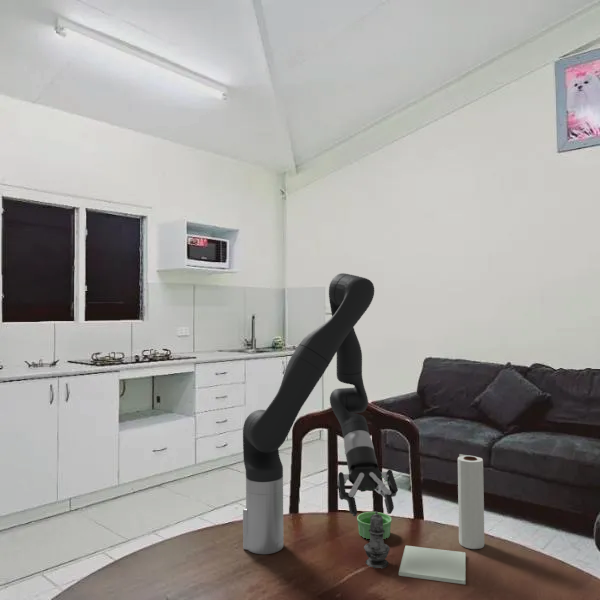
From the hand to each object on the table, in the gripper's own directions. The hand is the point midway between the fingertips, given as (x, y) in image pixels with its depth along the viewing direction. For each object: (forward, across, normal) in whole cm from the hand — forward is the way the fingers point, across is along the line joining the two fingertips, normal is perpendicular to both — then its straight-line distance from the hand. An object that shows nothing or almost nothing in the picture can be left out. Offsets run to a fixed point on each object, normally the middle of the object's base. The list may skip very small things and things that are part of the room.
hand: (372, 513), depth 128 cm
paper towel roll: (+5, +26, +9) cm, 28 cm away
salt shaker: (+10, 0, +5) cm, 11 cm away
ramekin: (-1, +4, +16) cm, 16 cm away
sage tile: (+12, +12, +2) cm, 17 cm away
